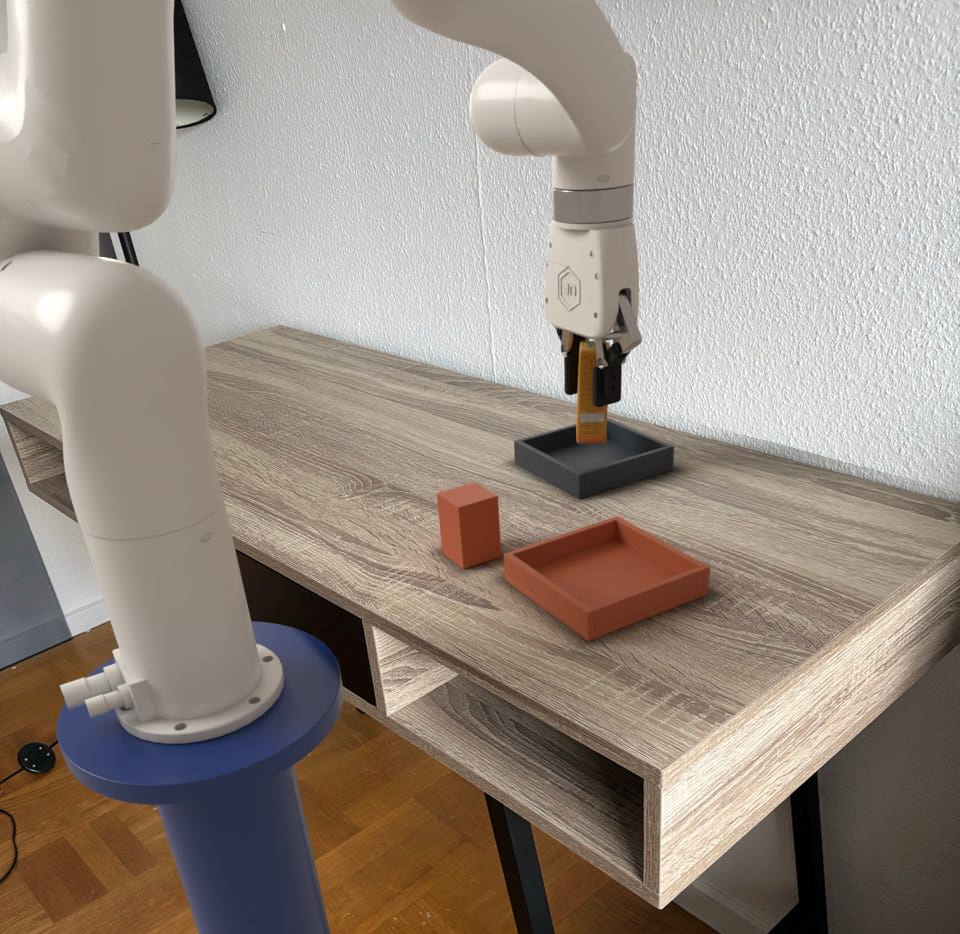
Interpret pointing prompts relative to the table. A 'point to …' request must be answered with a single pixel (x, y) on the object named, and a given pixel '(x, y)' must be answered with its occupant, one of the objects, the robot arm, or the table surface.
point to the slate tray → (593, 458)
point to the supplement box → (589, 399)
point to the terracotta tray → (605, 576)
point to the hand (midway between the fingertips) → (592, 396)
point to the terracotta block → (469, 524)
